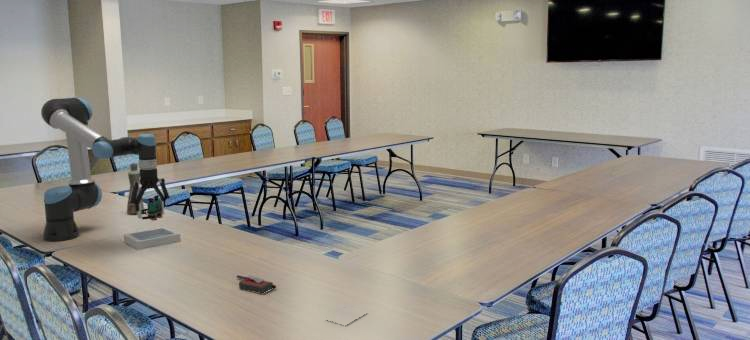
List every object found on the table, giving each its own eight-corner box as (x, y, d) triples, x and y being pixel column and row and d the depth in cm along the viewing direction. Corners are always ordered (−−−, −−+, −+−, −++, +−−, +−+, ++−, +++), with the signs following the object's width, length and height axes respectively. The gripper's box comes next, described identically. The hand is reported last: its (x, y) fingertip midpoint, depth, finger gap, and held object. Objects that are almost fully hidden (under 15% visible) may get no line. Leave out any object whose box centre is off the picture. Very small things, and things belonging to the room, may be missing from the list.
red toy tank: (280, 288, 222) (239, 278, 232) (279, 277, 221) (238, 267, 231) (264, 296, 215) (223, 285, 224) (264, 284, 214) (222, 274, 223)
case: (123, 241, 276) (123, 234, 276) (165, 233, 290) (165, 226, 289) (137, 249, 265) (137, 242, 264) (180, 240, 278) (180, 233, 278)
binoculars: (144, 195, 279) (163, 194, 277) (147, 217, 281) (166, 216, 278) (132, 199, 270) (152, 198, 268) (136, 222, 272) (155, 221, 270)
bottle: (141, 215, 324) (138, 164, 319) (124, 215, 324) (121, 164, 319) (147, 211, 333) (144, 161, 328) (131, 211, 333) (128, 161, 328)
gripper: (126, 172, 261) (129, 221, 265) (175, 166, 276) (178, 213, 280) (120, 170, 267) (123, 218, 270) (168, 164, 282) (171, 210, 286)
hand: (151, 216), depth 275 cm, fingers closed on binoculars, 10 cm apart
